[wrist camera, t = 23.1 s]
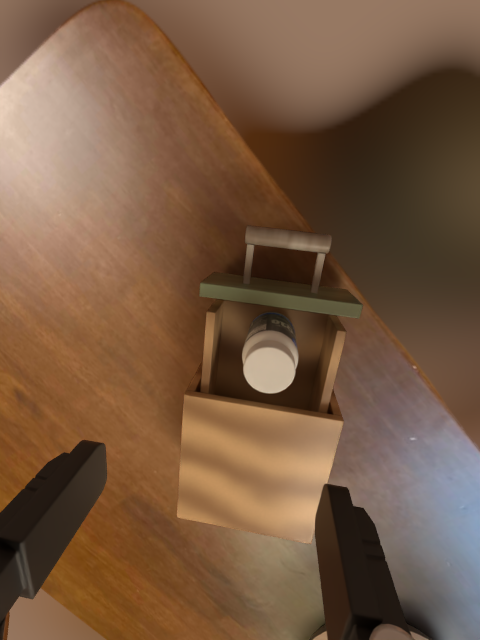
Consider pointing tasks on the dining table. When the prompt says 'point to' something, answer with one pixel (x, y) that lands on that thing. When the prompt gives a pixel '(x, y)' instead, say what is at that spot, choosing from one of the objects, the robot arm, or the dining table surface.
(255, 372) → the pill bottle
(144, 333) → the dining table surface
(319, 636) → the pot
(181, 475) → the cabinet
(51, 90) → the dining table surface
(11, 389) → the dining table surface
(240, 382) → the drawer
